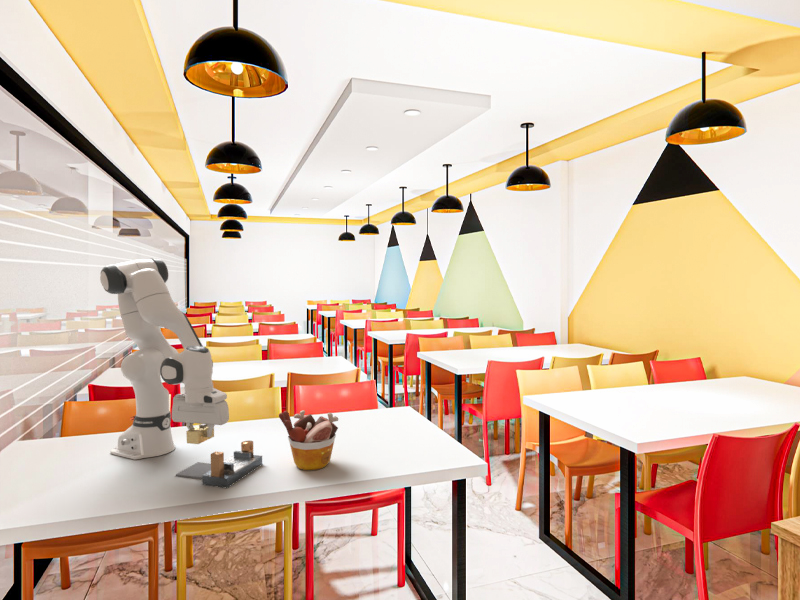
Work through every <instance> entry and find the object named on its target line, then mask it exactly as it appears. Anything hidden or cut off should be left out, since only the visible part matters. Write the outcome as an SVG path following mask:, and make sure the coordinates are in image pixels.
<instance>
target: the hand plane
mask: <svg viewBox="0 0 800 600" xmlns="http://www.w3.org/2000/svg"><path fill="white" fill-rule="evenodd" d="M240 447H241V448H240V450H241V451H239V450H234V451H233V455H232V456H230V457H228V458H226V459H224V458H225V456H224V454H225V452H224V451H213V452H211V453H210V464H211V471H209V472H207V473H205V474H204V475H202V479H201V481H202V483H201V485H202V486H208V487H209V486H210V487H215V486H218V487H217V488H223V487H226V488H225V489H228V488H230V487H231V486H232V484H233V483H234V484H236V483H237V482H238V481H240V480H241V479H243V478H244V477H246V476H247V475H249V474H250V473H252V472H253V471H255V470H257V467H258V468H260V467H261V466H262V465H263V455H258V454H254V441H253V440H244V441H241V443H240ZM260 465H261V466H260ZM254 469H255V470H254ZM251 471H252V472H251ZM248 473H249V474H248ZM245 475H246V476H245ZM242 477H243V478H242ZM239 479H240V480H239ZM236 481H237V482H236ZM234 484H233V485H234ZM230 485H231V486H230ZM229 486H230V487H229ZM227 487H228V488H227Z"/></svg>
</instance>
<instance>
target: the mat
mask: <svg viewBox="0 0 800 600" xmlns="http://www.w3.org/2000/svg"><path fill="white" fill-rule="evenodd" d="M209 471H211V462H209V463H207V462H198V461H197V462H196V463H194V464H192V465H190V466H188V467H186V468H185V469H183V470H181V471H178V472H177V473H175V477H180V478H187V479H188V478H189V479H196V480H202V475H204V474H205V473H207V472H209Z"/></svg>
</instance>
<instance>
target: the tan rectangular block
mask: <svg viewBox="0 0 800 600" xmlns="http://www.w3.org/2000/svg"><path fill="white" fill-rule="evenodd" d="M208 428H209V427H207V424H198V425H197V426H195V427H194V428H193V429H190V430H188V429H187V430H186V443H187V444H193V445H200V444H202V443H204V442H205V441H209V440H210V439H212V438H214V437H215V427H214V428H213V430H212V436H211V437H205V432H206V431H207V430H208Z"/></svg>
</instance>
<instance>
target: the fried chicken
mask: <svg viewBox="0 0 800 600" xmlns="http://www.w3.org/2000/svg"><path fill="white" fill-rule="evenodd" d="M305 413H306V411H305V409H304V410H300V412H299V413H295V414H294V415H293V418H294V419H298V420H296V421H295V422H294V424H292V420H291V419H292V418H291V416H290V413H289V412H288V411H287V410H284V411H283V412H280V413H279V414H278V418H279V419H280V421H281V422H282V424H283V425H284V427H285V428H286V431H287V434H288V436H287V439H288V442H289V445H290V450H291V455H292V458H293V463H294V464H295V466H296V467H297V468H298V469H299V470H302V469H303V471H308V470H309V471H318V470H320V469H321V470H322V469H324V468H325V467H326V466H327V465H328V464H329V463H330V462H331V458H332V453H333V449H334V444H335V439H336V436H337V434H336V433H337V431H338V429H339V427H338V426H337V425H336V424H335V423H334V422H339V418H338V416H337V415H335V416H334V415H333V413H332V412H328V413H327V417H328V418H327V417H324V416H322V415H321V416H319V417H318V418H317V419H315V418H314V417H313V415H312V414H310V413H309V414H306V415H305Z"/></svg>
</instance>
